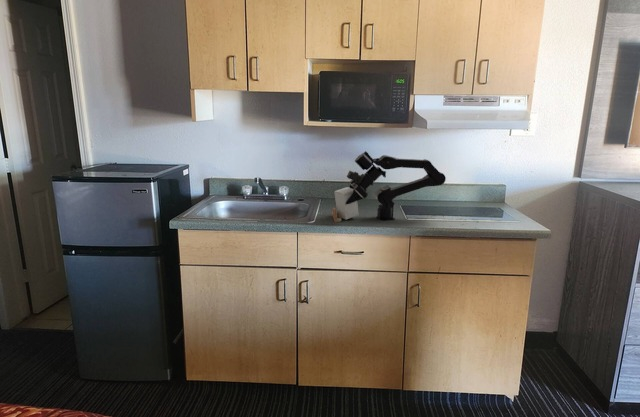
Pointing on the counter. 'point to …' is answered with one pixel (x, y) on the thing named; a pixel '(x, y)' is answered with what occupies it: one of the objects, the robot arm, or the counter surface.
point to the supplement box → (343, 208)
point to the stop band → (336, 216)
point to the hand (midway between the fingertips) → (345, 201)
